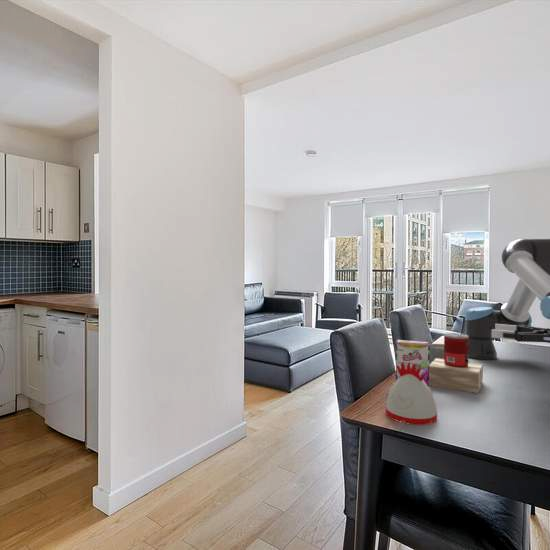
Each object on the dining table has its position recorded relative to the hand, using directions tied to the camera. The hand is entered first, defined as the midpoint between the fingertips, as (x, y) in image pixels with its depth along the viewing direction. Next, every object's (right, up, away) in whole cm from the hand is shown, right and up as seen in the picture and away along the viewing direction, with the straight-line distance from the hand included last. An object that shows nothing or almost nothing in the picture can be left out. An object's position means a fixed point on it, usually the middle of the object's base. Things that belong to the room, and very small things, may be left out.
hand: (493, 330), depth 132 cm
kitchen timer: (-38, -21, -25) cm, 50 cm away
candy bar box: (-29, -20, -1) cm, 36 cm away
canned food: (-12, -13, +3) cm, 18 cm away
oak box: (-12, -20, +4) cm, 24 cm away
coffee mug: (-11, -20, +23) cm, 32 cm away
